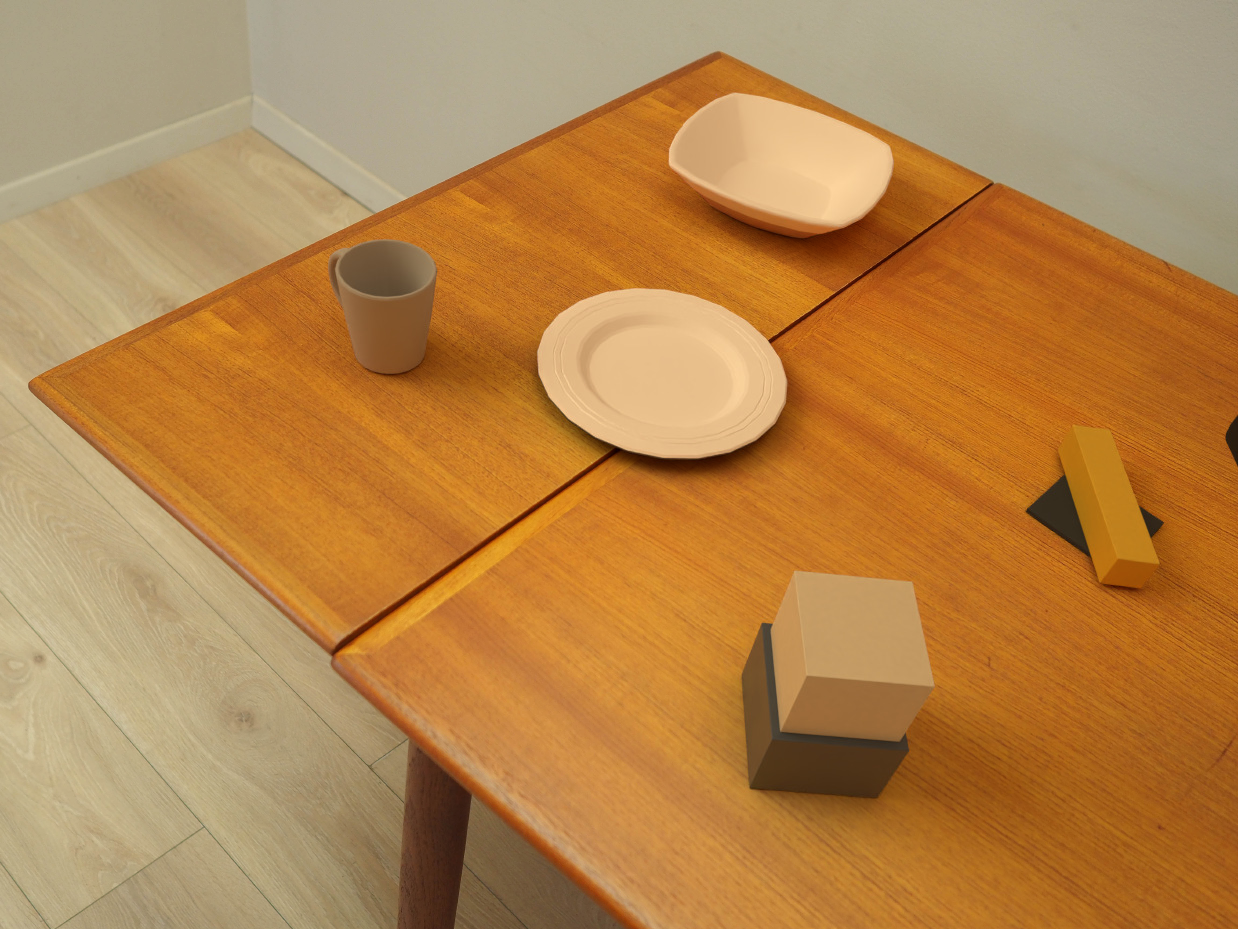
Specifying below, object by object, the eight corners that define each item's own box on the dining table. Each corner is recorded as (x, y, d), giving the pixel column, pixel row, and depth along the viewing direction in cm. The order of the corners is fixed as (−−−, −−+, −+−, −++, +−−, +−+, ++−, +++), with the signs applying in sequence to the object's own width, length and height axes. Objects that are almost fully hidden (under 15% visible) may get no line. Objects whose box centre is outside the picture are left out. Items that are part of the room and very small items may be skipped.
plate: (755, 506, 80) (760, 489, 78) (497, 426, 82) (498, 408, 81) (802, 343, 94) (807, 326, 92) (581, 279, 96) (583, 262, 95)
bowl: (840, 288, 100) (855, 242, 96) (635, 211, 105) (643, 164, 101) (896, 187, 115) (912, 143, 111) (714, 123, 119) (724, 79, 115)
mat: (1162, 525, 84) (1164, 522, 83) (1115, 575, 79) (1118, 572, 79) (1074, 466, 87) (1076, 463, 87) (1025, 511, 83) (1027, 508, 82)
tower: (859, 684, 70) (919, 575, 61) (877, 798, 64) (946, 695, 56) (741, 674, 69) (784, 562, 60) (749, 788, 64) (798, 683, 55)
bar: (1056, 449, 88) (1072, 424, 86) (1094, 454, 88) (1110, 429, 86) (1099, 583, 78) (1118, 558, 76) (1140, 588, 78) (1160, 564, 76)
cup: (390, 397, 83) (386, 312, 76) (301, 339, 86) (291, 253, 80) (456, 352, 87) (458, 268, 81) (370, 298, 91) (365, 214, 84)
